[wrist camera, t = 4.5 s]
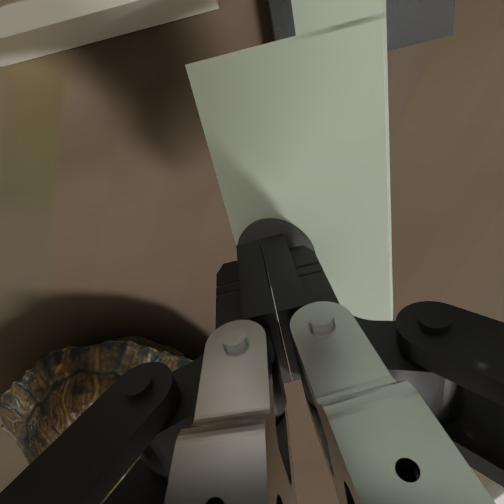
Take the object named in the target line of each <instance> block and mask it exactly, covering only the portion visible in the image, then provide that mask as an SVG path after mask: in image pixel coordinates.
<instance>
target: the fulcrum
mask: <svg viewBox="0 0 504 504" xmlns="http://www.w3.org/2000/svg"><path fill="white" fill-rule="evenodd" d="M267 5H268V11H269V17H270V24H271V30H272V36H273V42H274V41H277V40H281V39H285V38H289V37H293V36H296V33H295V25H294V18H293V11H292V3H291V0H267ZM454 7H455V0H386V23H387V51H390V50H394V49H398V48H402V47H406V46H410V45H414V44H418V43H422V42H425V41H429V40H433V39H437V38H441V37H445V36H449V35H453V23H454Z"/></svg>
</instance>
